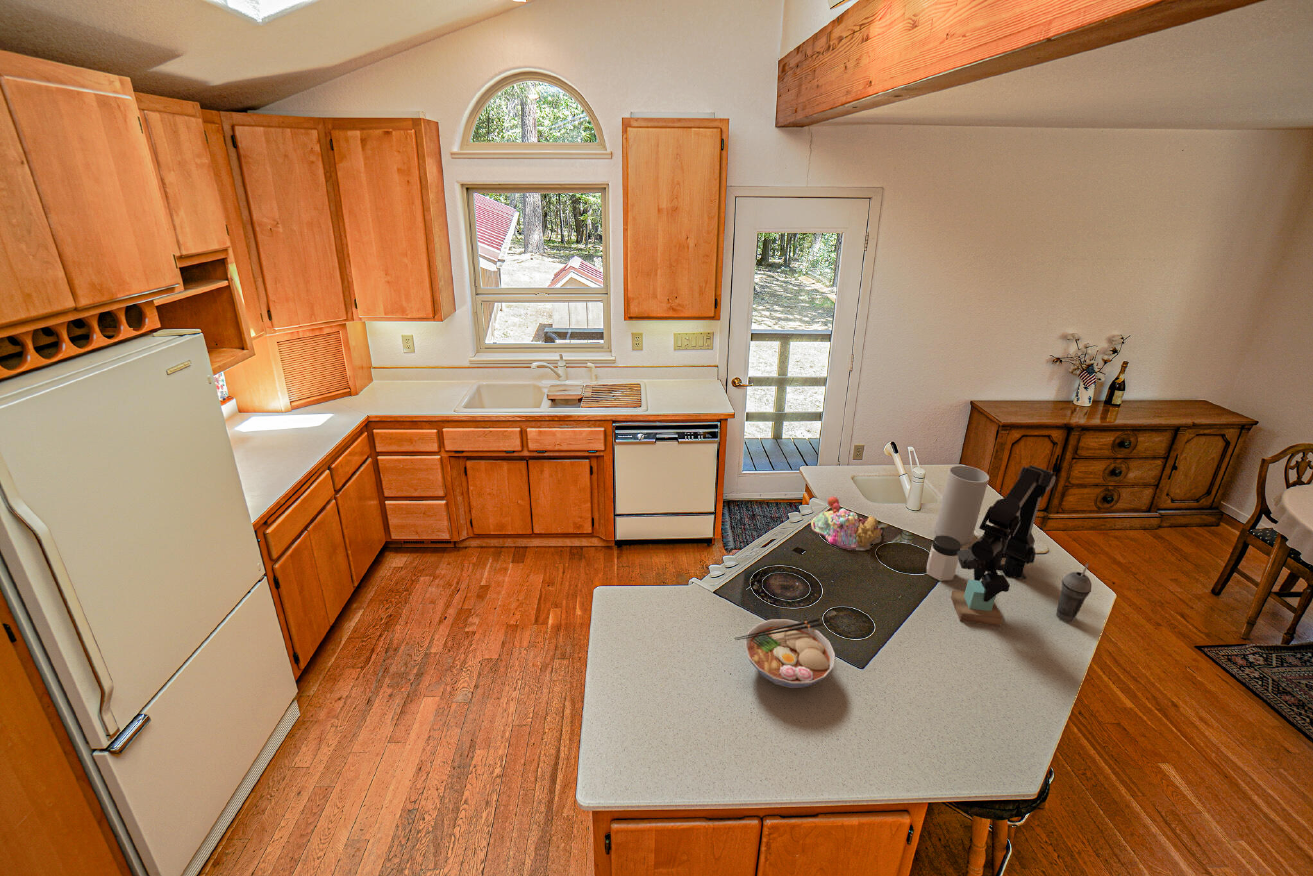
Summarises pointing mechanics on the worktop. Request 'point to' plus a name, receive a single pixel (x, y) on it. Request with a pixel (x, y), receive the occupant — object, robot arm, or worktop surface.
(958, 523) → the cylinder vase
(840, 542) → the pastel sphere sculpture
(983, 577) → the robot arm
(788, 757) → the worktop surface
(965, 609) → the walnut base
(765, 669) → the ramen bowl
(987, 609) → the teal block
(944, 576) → the jar
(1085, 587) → the beverage cup
